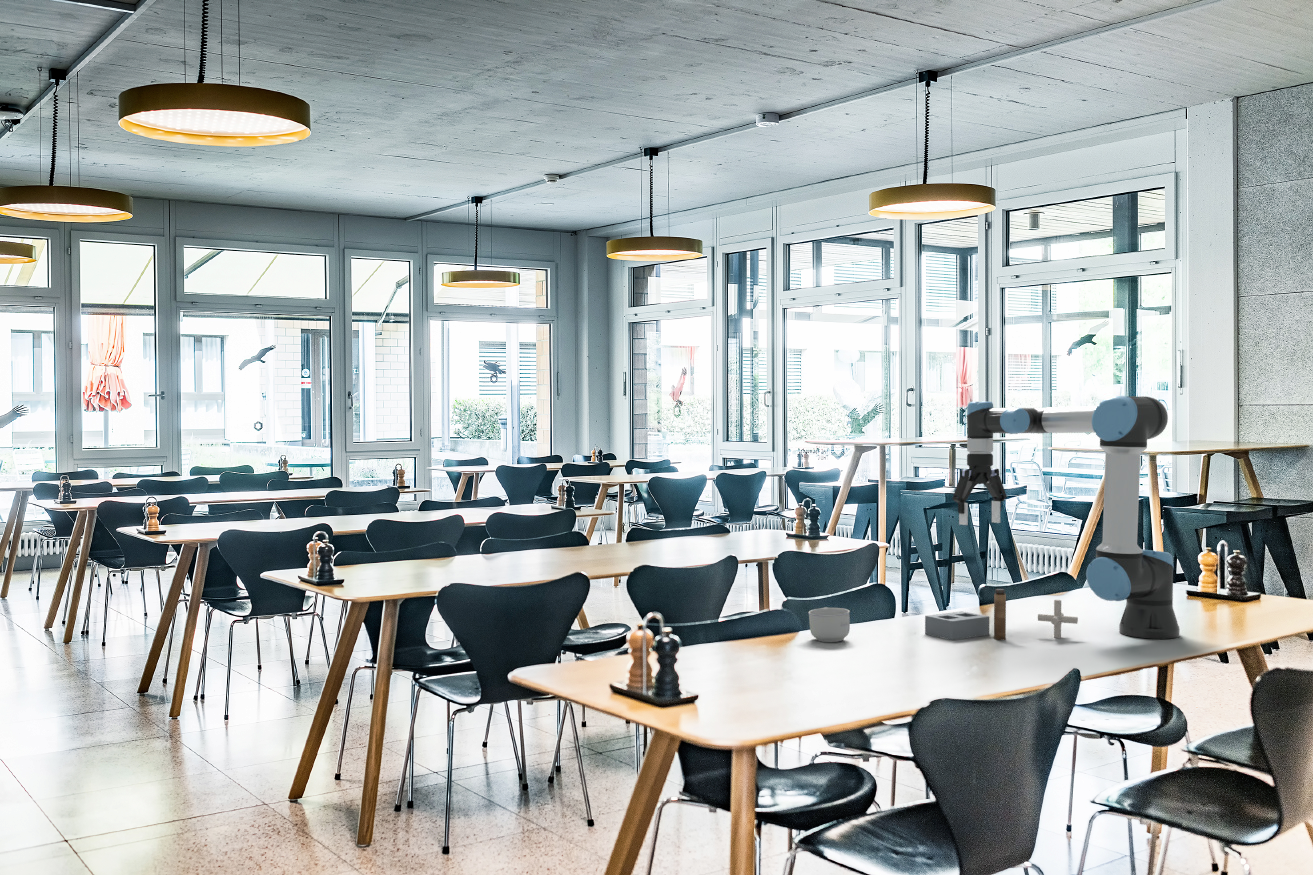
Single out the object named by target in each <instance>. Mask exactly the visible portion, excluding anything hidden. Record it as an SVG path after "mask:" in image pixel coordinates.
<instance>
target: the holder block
mask: <svg viewBox="0 0 1313 875" xmlns="http://www.w3.org/2000/svg"><path fill="white" fill-rule="evenodd" d="M924 629H925V630H924V635H929V636H933V637H937V638H942V639H946V640H951V641H955V640H963V639H969V638H976V637H983V636H989V635H990V616H988V615H983V614H978V613H972V612H968V611H953V612H952V611H951V612H945V613H939V614H929V615H925V617H924Z"/></svg>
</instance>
